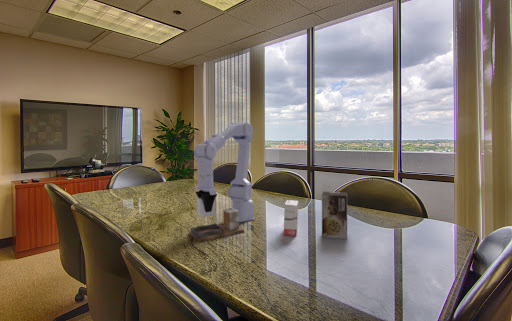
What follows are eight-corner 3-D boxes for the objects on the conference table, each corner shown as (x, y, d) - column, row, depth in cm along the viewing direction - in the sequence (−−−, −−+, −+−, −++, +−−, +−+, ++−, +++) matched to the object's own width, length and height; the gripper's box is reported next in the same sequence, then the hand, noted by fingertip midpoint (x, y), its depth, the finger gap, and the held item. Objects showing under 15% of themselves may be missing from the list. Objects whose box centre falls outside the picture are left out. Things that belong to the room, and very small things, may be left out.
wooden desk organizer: (231, 224, 115) (230, 206, 115) (244, 232, 106) (243, 212, 106) (188, 233, 105) (188, 213, 105) (199, 242, 96) (198, 220, 96)
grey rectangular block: (197, 215, 103) (196, 197, 103) (212, 212, 107) (212, 195, 106) (200, 217, 100) (200, 198, 99) (216, 214, 103) (216, 196, 103)
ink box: (297, 236, 101) (297, 205, 100) (283, 235, 102) (283, 204, 101) (298, 228, 109) (298, 200, 109) (285, 228, 110) (285, 199, 110)
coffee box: (347, 233, 103) (347, 192, 102) (347, 239, 97) (347, 195, 96) (322, 231, 106) (323, 190, 105) (321, 237, 100) (321, 194, 99)
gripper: (189, 174, 106) (190, 208, 107) (202, 178, 94) (203, 216, 95) (206, 172, 110) (206, 205, 111) (220, 176, 98) (221, 213, 99)
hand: (206, 210), depth 103 cm, fingers closed on grey rectangular block, 4 cm apart
